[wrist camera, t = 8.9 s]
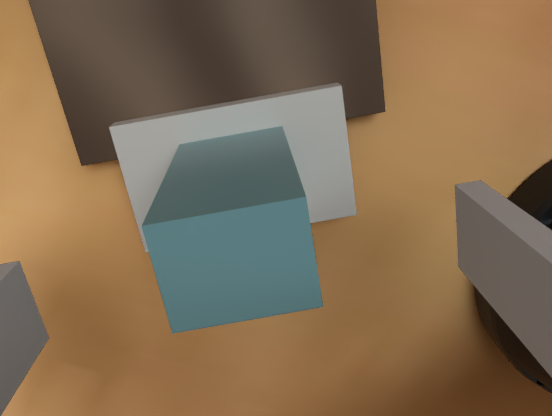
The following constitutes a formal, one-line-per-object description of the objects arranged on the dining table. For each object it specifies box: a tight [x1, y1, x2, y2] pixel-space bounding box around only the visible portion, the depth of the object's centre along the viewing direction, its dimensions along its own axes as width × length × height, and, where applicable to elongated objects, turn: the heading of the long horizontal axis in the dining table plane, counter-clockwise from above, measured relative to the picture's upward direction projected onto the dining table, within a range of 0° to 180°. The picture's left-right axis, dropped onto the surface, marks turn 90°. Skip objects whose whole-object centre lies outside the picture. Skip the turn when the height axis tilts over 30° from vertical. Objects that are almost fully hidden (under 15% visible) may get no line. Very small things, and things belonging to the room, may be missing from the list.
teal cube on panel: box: [109, 82, 357, 334], centre depth 19 cm, size 10×6×10 cm, turn 99°
